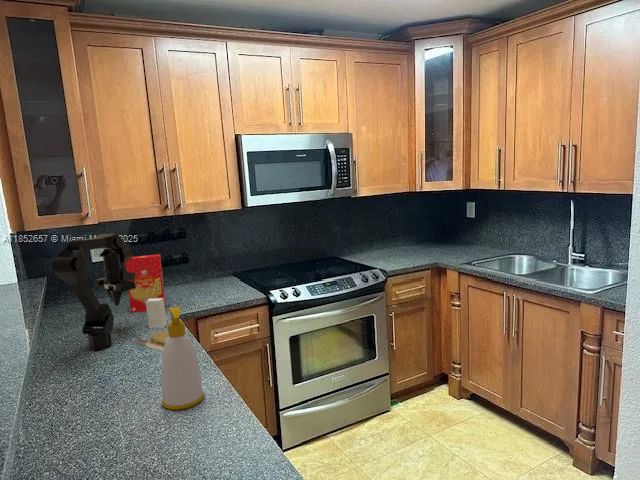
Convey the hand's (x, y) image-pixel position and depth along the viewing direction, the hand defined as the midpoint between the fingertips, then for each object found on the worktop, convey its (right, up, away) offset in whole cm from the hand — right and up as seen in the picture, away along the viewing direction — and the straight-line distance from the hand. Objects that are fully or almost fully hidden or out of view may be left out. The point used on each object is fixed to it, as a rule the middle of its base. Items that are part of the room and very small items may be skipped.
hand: (117, 305), depth 170 cm
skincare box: (+13, -11, +8) cm, 18 cm away
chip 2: (+24, -13, -13) cm, 30 cm away
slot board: (+20, -13, -11) cm, 26 cm away
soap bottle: (+42, -18, -51) cm, 68 cm away
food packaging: (-1, -7, +34) cm, 35 cm away
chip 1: (+21, -12, -11) cm, 26 cm away
